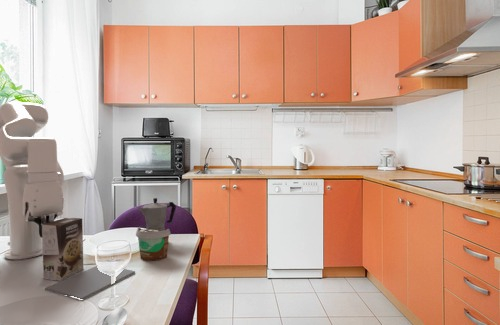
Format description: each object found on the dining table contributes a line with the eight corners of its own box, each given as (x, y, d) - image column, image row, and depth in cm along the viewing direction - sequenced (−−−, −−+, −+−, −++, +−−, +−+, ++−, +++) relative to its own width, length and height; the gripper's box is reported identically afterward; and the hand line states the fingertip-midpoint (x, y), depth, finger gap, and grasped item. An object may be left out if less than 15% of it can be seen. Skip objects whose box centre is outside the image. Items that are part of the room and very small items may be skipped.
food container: (128, 260, 104) (127, 231, 103) (139, 254, 110) (138, 226, 109) (161, 264, 101) (161, 233, 100) (170, 257, 107) (170, 228, 106)
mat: (45, 289, 83) (45, 287, 83) (101, 265, 99) (101, 263, 99) (81, 300, 77) (81, 298, 77) (135, 273, 94) (134, 271, 94)
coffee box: (61, 281, 88) (59, 225, 87) (42, 279, 89) (40, 224, 88) (84, 268, 97) (83, 217, 96) (67, 266, 98) (65, 216, 97)
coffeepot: (144, 250, 113) (144, 202, 112) (134, 244, 120) (133, 198, 119) (181, 241, 124) (181, 197, 123) (170, 236, 131) (169, 194, 130)
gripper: (58, 175, 103) (61, 229, 104) (8, 179, 89) (11, 242, 90) (74, 176, 100) (76, 232, 101) (24, 181, 86) (27, 245, 87)
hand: (45, 236), depth 96 cm, fingers closed
